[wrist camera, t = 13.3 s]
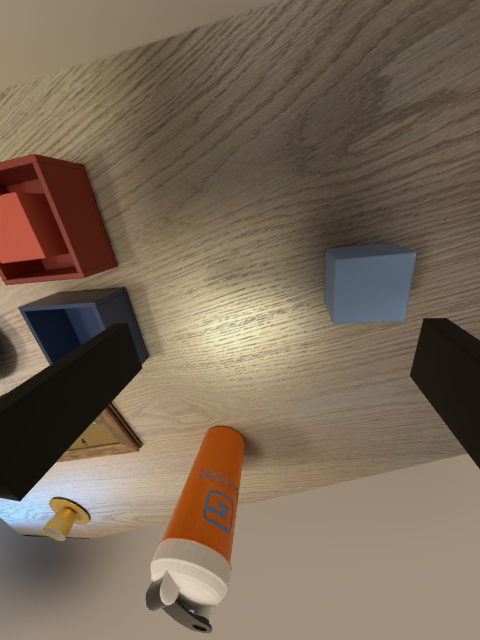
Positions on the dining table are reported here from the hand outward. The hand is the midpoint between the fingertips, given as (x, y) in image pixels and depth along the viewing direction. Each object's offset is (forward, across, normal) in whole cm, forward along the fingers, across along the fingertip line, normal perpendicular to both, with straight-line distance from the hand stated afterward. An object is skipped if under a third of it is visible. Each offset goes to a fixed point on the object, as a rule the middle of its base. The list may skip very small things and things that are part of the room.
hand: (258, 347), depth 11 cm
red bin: (+18, -26, +7) cm, 32 cm away
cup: (+18, -59, -64) cm, 89 cm away
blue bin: (+18, -26, -7) cm, 32 cm away
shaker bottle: (+18, -10, -30) cm, 36 cm away
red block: (+17, -26, +7) cm, 32 cm away
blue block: (+18, +8, -1) cm, 20 cm away
